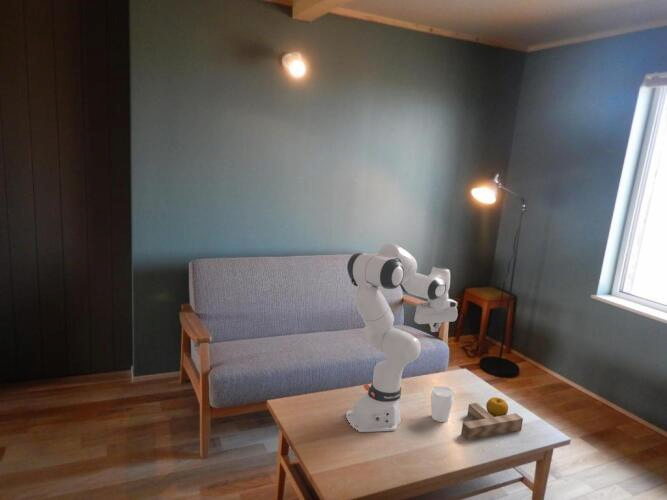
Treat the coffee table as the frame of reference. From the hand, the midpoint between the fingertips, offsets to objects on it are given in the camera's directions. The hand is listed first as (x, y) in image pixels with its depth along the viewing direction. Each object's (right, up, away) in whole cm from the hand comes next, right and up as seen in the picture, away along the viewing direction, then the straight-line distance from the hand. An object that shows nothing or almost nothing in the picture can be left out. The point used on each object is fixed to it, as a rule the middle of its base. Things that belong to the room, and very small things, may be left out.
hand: (434, 331), depth 205 cm
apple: (+23, -34, -13) cm, 43 cm away
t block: (+16, -35, -19) cm, 43 cm away
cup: (-1, -33, -16) cm, 37 cm away
